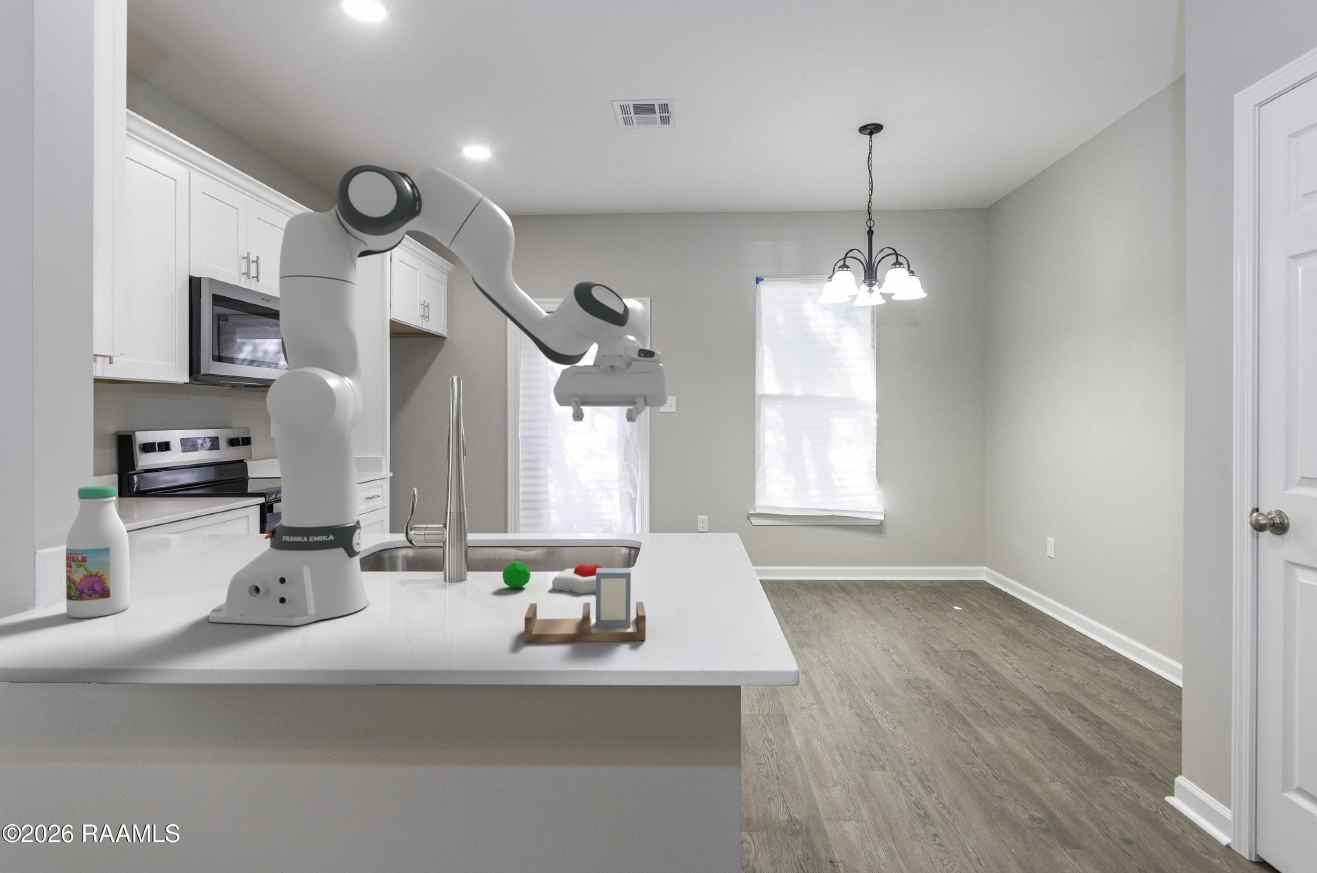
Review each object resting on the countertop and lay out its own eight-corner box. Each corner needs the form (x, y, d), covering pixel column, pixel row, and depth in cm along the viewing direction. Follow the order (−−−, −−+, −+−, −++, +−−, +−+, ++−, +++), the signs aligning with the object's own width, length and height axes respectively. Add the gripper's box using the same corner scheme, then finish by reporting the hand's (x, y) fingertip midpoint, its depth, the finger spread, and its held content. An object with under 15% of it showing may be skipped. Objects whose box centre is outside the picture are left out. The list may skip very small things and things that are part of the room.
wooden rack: (524, 642, 93) (524, 617, 93) (529, 627, 100) (530, 603, 100) (645, 640, 95) (645, 615, 95) (642, 625, 102) (642, 601, 102)
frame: (595, 628, 96) (595, 573, 96) (596, 621, 99) (596, 568, 99) (630, 628, 96) (630, 573, 96) (630, 621, 100) (630, 568, 99)
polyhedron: (524, 592, 121) (524, 565, 120) (498, 591, 121) (498, 564, 121) (533, 585, 126) (533, 560, 125) (508, 584, 126) (508, 559, 126)
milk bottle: (104, 603, 111) (102, 483, 110) (142, 607, 109) (140, 485, 109) (53, 617, 103) (51, 488, 103) (93, 621, 102) (91, 490, 101)
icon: (547, 571, 120) (563, 559, 130) (547, 595, 120) (563, 581, 130) (613, 574, 118) (625, 562, 128) (613, 598, 118) (625, 584, 128)
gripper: (559, 353, 122) (540, 405, 113) (669, 352, 119) (659, 406, 109) (567, 379, 127) (549, 431, 117) (673, 378, 123) (664, 432, 114)
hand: (603, 419), depth 113 cm, fingers open, 8 cm apart
